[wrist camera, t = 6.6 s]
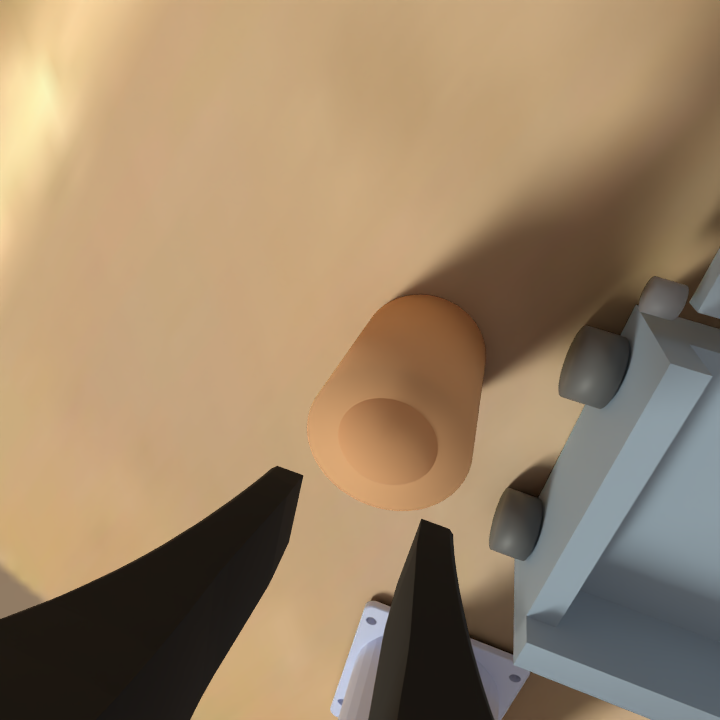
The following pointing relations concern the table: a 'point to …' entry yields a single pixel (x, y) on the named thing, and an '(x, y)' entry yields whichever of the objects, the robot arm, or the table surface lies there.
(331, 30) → the table surface
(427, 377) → the tan hollow cylinder
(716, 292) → the panel
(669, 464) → the box
